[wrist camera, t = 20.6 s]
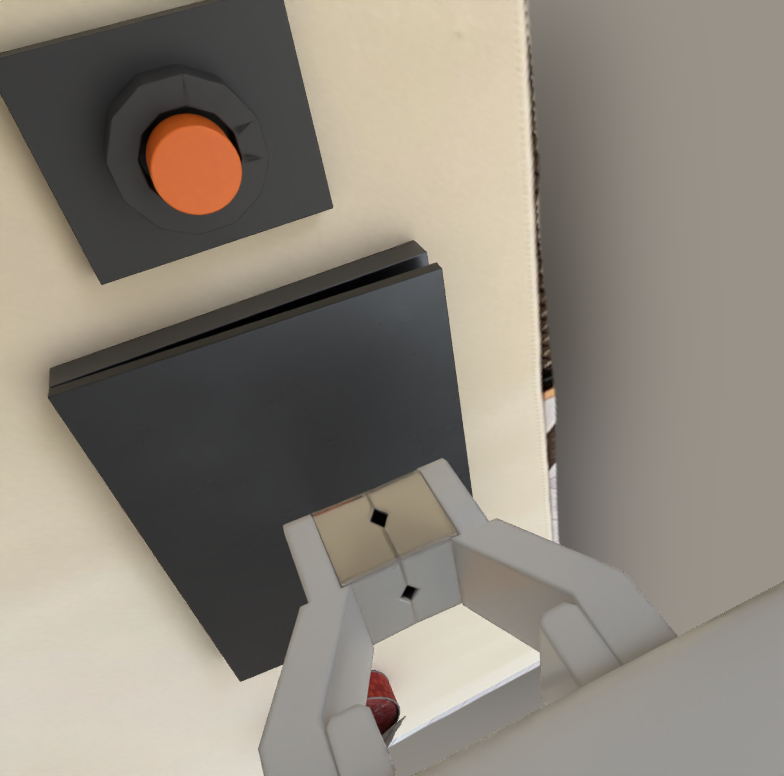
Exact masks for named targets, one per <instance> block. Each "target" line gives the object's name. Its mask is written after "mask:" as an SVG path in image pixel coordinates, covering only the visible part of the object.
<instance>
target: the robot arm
mask: <svg viewBox="0 0 784 776" xmlns="http://www.w3.org/2000/svg"><path fill="white" fill-rule="evenodd" d="M312 516H313V518H312ZM312 516H311V514H309V515H307V516H304V517H302V518H299V519H297V520H294V521H292V522H289V523H287V524H284V525H283V528H284V534H285V537H286V540H287V542H288V545H289V548H290V551H291V554H292V557H293V560H294V563H295V566H296V568H297V571H298V574H299V577H300V580H301V583H302V586H303V589H304V592H305V594H306V597H307V600H308V603H307V604H305V605H303V606H301V607H300V610H299V613H298V616H297V620H296V623H295V626H294V630H293V633H292V636H291V640H290V643H289V647H288V650H287V653H286V657H285V660H284V663H283V667H282V670H281V674H280V677H279V680H278V684H277V687H276V690H275V694H274V697H273V701H272V704H271V707H270V711H269V714H268V717H267V721H266V724H265V728H264V731H263V734H262V738H261V741H260V744H259V748H258V751H259V755H260V760H261V764H262V769H263V773H264V776H398V774H397V772H396V769H395V767H394V764H393V762H392V760H391V757H390V755H389V753H388V750H387V748H386V745H385V743H384V740H383V738H382V736H381V733H380V731H379V728H378V726H377V724H376V721H375V719H374V716H373V714H372V712H371V709H370V707H367V706H366V701H367V694H368V687H369V680H370V673H371V666H372V659H373V652H374V647H373V645H374V644H376V643H378V642H380V641H382V640H384V639H386V638H388V637H390V636H392V635H394V634H396V633H398V632H400V631H402V630H404V629H406V628H408V627H410V626H412V625H414V624H416V623H417V622H420V621H422V620H425V619H427V618H429V617H431V616H434V615H436V614H438V613H440V612H443V611H445V610H447V609H450V608H452V607H454V606H456V605H459V604H461V603H463V605H464V606H465V607H467V608H469V609H470V610H472V611H474V612H475V613H477V614H478V615H480V616H482V617H483V618H485V619H486V620H488V621H490V622H491V623H493V624H495V625H496V626H498V627H499V628H501V629H503V630H504V631H506V632H508V633H509V634H511V635H512V636H514V637H516V638H517V639H519V640H520V641H522V642H524V643H525V644H527V645H529V646H530V647H532V648H533V649H535V650H537V651H538V652H540V673H541V698H542V700H543V702H544V703H545V705H546V706H544V707H542V708H540V709H538V710H537V711H535V712H533V713H531V714H529V715H527V716H525V717H523V718H521V719H519V720H517V721H515V722H514V723H511V724H510V725H508V726H506V727H504V728H502V729H500V730H498V731H496V732H494V733H492V734H490V735H488V736H487V737H485V738H483V739H481V740H479V741H477V742H475V743H473V744H471V745H469V746H467V747H465V748H464V749H462V750H460V751H458V752H456V753H454V754H452V755H450V756H448V757H446V758H445V759H442V760H441V761H439V762H437V763H435V764H433V765H431V766H429V767H427V768H425V769H423V770H421V771H420V772H418V773H416V774H414V775H412V776H784V581H783V582H781V583H780V584H778V585H776V586H774V587H772V588H770V589H768V590H766V591H764V592H762V593H760V594H759V595H757V596H755V597H753V598H751V599H749V600H747V601H745V602H743V603H741V604H739V605H737V606H736V607H734V608H732V609H730V610H728V611H726V612H724V613H722V614H720V615H718V616H716V617H715V618H713V619H711V620H709V621H707V622H705V623H703V624H701V625H699V626H697V627H696V628H693V629H692V630H690V631H688V632H686V633H684V634H682V635H680V636H677V634H676V633H675V632H674V631H673V629H672V628H671V627H670V626H669V625H668V624H667V622H666V621H665V620H664V619H663V618H662V616H661V615H660V614H659V613H658V612H657V610H656V609H655V608H654V607H653V606H652V605H651V603H650V602H649V601H648V600H647V599H646V597H645V596H644V595H643V594H642V593H641V591H639V589H638V588H637V587H636V586H635V584H634V583H633V582H632V581H631V580H630V578H629V577H628V576H627V575H626V574H625V573H624V571H621V570H619V569H617V568H614V567H612V566H610V565H607V564H605V563H602V562H600V561H598V560H595V559H593V558H591V557H588V556H586V555H583V554H581V553H578V552H576V551H574V550H571V549H569V548H567V547H564V546H562V545H559V544H557V543H555V542H552V541H550V540H548V539H545V538H543V537H540V536H538V535H536V534H533V533H531V532H528V531H526V530H524V529H521V528H519V527H516V526H514V525H512V524H509V523H507V522H504V521H502V520H500V519H497V518H496V519H494V520H491V521H488V519H487V518H486V516H485V515H484V513H483V512H482V511H481V509H480V508H479V506H478V505H477V503H476V502H475V500H474V499H473V498H472V496H471V495H470V493H469V492H468V490H467V489H466V488H465V486H464V485H463V483H462V482H461V480H460V479H459V478H458V476H457V475H456V473H455V472H454V470H453V469H452V467H451V466H450V465H449V463H448V462H447V461H446V460H445V459H443V458H441V459H439V460H436V461H434V462H432V463H429V464H427V465H425V466H422V467H420V468H418V469H417V470H415V469H414V470H412V471H410V472H408V473H405V474H403V475H401V476H398V477H396V478H394V479H392V480H389V481H387V482H385V483H382V484H380V485H378V486H376V487H373V488H371V489H369V490H366V491H364V493H361V494H359V495H356V496H354V497H351V498H349V499H346V500H344V501H341V502H338V503H336V504H333V505H331V506H328V507H326V508H323V509H321V510H318V511H316V512H313V513H312ZM313 519H314V520H313ZM315 524H316V525H315Z"/></svg>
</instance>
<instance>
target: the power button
mask: <svg viewBox="0 0 784 776" xmlns="http://www.w3.org/2000/svg"><path fill="white" fill-rule="evenodd" d="M146 162H147V166H148V169H149V172H150V176H151V179H152V182H153V185H154V187H155V189H156V191H157V192H158V194H159V195H160V197H161V198H162V199H163V200H164V201H165V202H166V203H167V204H168V205H170V206H171V207H173V208H175V209H176V210H178V211H181V212H183V213H187V214H192V215H205V214H210V213H214V212H216V211H218V210H220V209H222V208H224V207H225V206H226V205H228V204H229V203H230V202H231V201H232V199H233V198H234V197H235V195H236V194H237V192H238V190H239V187H240V184H241V179H242V165H241V161H240V157H239V155H238V153H237V151H236V149H235V147H234V146H233V144H232V143H231V142H230V140H229V139H228V137H227V136H226V135H225V133H224V132H223V130H222V129H221V128H220V127H219V126H218V125H216V124H215V123H214V122H213V121H211V120H209V119H208V118H205V117H203V116H200V115H197V114H191V113H182V114H176V115H173V116H170V117H168V118H166V119H164V120H163V121H161V122H160V123H159V124H158V125H157V126H156V127H155V128H154V129H153V131H152V132H151V134H150V136H149V138H148V141H147V145H146Z"/></svg>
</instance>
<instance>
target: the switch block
mask: <svg viewBox="0 0 784 776" xmlns="http://www.w3.org/2000/svg"><path fill="white" fill-rule="evenodd" d="M0 94H1V96H2V98H3V100H4V102H5V103H6V105H7V107H8V109H9V111H10V113H11V115H12V117H13V119H14V121H15V122H16V124H17V126H18V128H19V130H20V132H21V134H22V136H23V138H24V139H25V141H26V143H27V145H28V147H29V149H30V151H31V153H32V155H33V157H34V158H35V160H36V162H37V164H38V166H39V168H40V170H41V172H42V174H43V175H44V177H45V179H46V181H47V183H48V185H49V187H50V189H51V191H52V192H53V194H54V196H55V198H56V200H57V202H58V204H59V206H60V208H61V210H62V211H63V213H64V215H65V217H66V219H67V221H68V223H69V225H70V227H71V228H72V230H73V232H74V234H75V236H76V238H77V240H78V242H79V244H80V246H81V247H82V249H83V251H84V253H85V255H86V257H87V259H88V261H89V263H90V264H91V266H92V268H93V270H94V272H95V274H96V276H97V278H98V280H99V281H100V283H101V285H103V284H106V283H109V282H112V281H115V280H118V279H121V278H124V277H127V276H130V275H133V274H136V273H139V272H142V271H145V270H148V269H151V268H154V267H157V266H160V265H163V264H166V263H169V262H172V261H175V260H178V259H181V258H184V257H187V256H190V255H193V254H196V253H199V252H202V251H205V250H208V249H211V248H214V247H217V246H220V245H223V244H226V243H229V242H232V241H235V240H238V239H241V238H244V237H247V236H250V235H254V234H257V233H260V232H263V231H266V230H269V229H272V228H275V227H278V226H281V225H284V224H287V223H290V222H293V221H296V220H299V219H302V218H305V217H308V216H311V215H314V214H317V213H320V212H323V211H326V210H329V209H332V208H333V204H332V200H331V196H330V192H329V188H328V184H327V179H326V175H325V171H324V167H323V163H322V159H321V154H320V150H319V146H318V142H317V138H316V134H315V130H314V125H313V121H312V117H311V113H310V109H309V105H308V100H307V96H306V92H305V88H304V84H303V80H302V75H301V71H300V67H299V63H298V59H297V55H296V51H295V46H294V42H293V38H292V34H291V30H290V26H289V21H288V17H287V13H286V9H285V5H284V1H283V0H205V1H201V2H198V3H194V4H190V5H186V6H182V7H178V8H174V9H170V10H166V11H162V12H159V13H155V14H151V15H147V16H143V17H139V18H135V19H131V20H127V21H124V22H120V23H116V24H112V25H108V26H104V27H100V28H96V29H92V30H88V31H85V32H81V33H77V34H73V35H69V36H65V37H61V38H57V39H53V40H50V41H46V42H42V43H38V44H34V45H30V46H26V47H22V48H18V49H14V50H11V51H7V52H3V53H0ZM182 113H191V114H197V115H200V116H203V117H205V118H208V119H209V120H211V121H213V122H214V123H215V124H216V125H218V126H219V127H220V128H221V129H222V130H223V132H224V133H225V135H226V136H227V137H228V139H229V140H230V142H231V143H232V144H233V146H234V147H235V149H236V151H237V153H238V155H239V157H240V161H241V165H242V179H241V184H240V187H239V190H238V192H237V194H236V195H235V197H234V198H233V199H232V201H231V202H230V203H229V204H228V205H226V206H225V207H224V208H222V209H220V210H218V211H216V212H214V213H210V214H205V215H192V214H187V213H183V212H181V211H178V210H176V209H175V208H173V207H171V206H170V205H168V204H167V203H166V202H165V201H164V200H163V199H162V198H161V197H160V195H159V194H158V192H157V191H156V189H155V187H154V185H153V182H152V179H151V176H150V172H149V169H148V166H147V162H146V145H147V141H148V138H149V136H150V134H151V132H152V131H153V129H154V128H155V127H156V126H157V125H158V124H159V123H160V122H161V121H163V120H164V119H166V118H168V117H170V116H173V115H176V114H182Z"/></svg>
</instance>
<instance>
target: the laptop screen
mask: <svg viewBox="0 0 784 776" xmlns="http://www.w3.org/2000/svg"><path fill="white" fill-rule="evenodd" d="M48 399H49V400H50V402H51V403H52V405H53V406H54V408H55V409H56V411H57V412H58V413H59V415H60V416H61V418H62V419H63V421H64V422H65V424H66V425H67V427H68V428H69V430H70V431H71V433H72V434H73V436H74V437H75V439H76V440H77V442H78V443H79V444H80V446H81V447H82V449H83V450H84V452H85V453H86V455H87V456H88V458H89V459H90V461H91V462H92V464H93V465H94V467H95V468H96V470H97V471H98V473H99V474H100V475H101V477H102V478H103V480H104V481H105V483H106V484H107V486H108V487H109V489H110V490H111V492H112V493H113V495H114V496H115V498H116V499H117V501H118V502H119V504H120V505H121V506H122V508H123V509H124V511H125V512H126V514H127V515H128V517H129V518H130V520H131V521H132V523H133V524H134V526H135V527H136V529H137V530H138V532H139V533H140V535H141V536H142V538H143V539H144V540H145V542H146V543H147V545H148V546H149V548H150V549H151V551H152V552H153V554H154V555H155V557H156V558H157V560H158V561H159V563H160V564H161V566H162V567H163V569H164V570H165V571H166V573H167V574H168V576H169V577H170V579H171V580H172V582H173V583H174V585H175V586H176V588H177V589H178V591H179V592H180V594H181V595H182V597H183V598H184V600H185V601H186V602H187V604H188V605H189V607H190V608H191V610H192V611H193V613H194V614H195V616H196V617H197V619H198V620H199V622H200V623H201V625H202V626H203V628H204V629H205V631H206V632H207V634H208V635H209V636H210V638H211V639H212V641H213V642H214V644H215V645H216V647H217V648H218V650H219V651H220V653H221V654H222V656H223V657H224V659H225V660H226V662H227V663H228V665H229V666H230V667H231V669H232V670H233V672H234V673H235V675H236V676H237V678H238V679H239V681H240V682H241V681H244V680H246V679H249V678H251V677H254V676H256V675H258V674H261V673H263V672H266V671H268V670H271V669H273V668H276V667H278V666H280V665H283V663H284V660H285V657H286V653H287V650H288V647H289V643H290V640H291V636H292V633H293V630H294V626H295V623H296V620H297V616H298V613H299V610H300V607H301V606H303V605H305V604H307V603H308V600H307V597H306V594H305V592H304V589H303V586H302V583H301V580H300V577H299V574H298V571H297V568H296V566H295V563H294V560H293V557H292V554H291V551H290V548H289V545H288V542H287V540H286V537H285V534H284V528H283V525H284V524H287V523H289V522H292V521H294V520H297V519H299V518H302V517H304V516H307V515H309V514H311V516H312V513H313V512H316V511H318V510H321V509H323V508H326V507H328V506H331V505H333V504H336V503H338V502H341V501H344V500H346V499H349V498H351V497H354V496H356V495H359V494H361V493H364V491H366V490H369V489H371V488H373V487H376V486H378V485H380V484H382V483H385V482H387V481H389V480H392V479H394V478H396V477H398V476H401V475H403V474H405V473H408V472H410V471H412V470H414V469H415V470H417V469H418V468H420V467H422V466H425V465H427V464H429V463H432V462H434V461H436V460H439V459H441V458H443V459H445V460H446V461H447V462H448V463H449V465H450V466H451V467H452V469H453V470H454V472H455V473H456V475H457V476H458V478H459V479H460V480H461V482H462V483H463V485H464V486H465V488H466V489H467V490H468V492H469V493H470V495H471V496H472V488H471V481H470V473H469V466H468V458H467V451H466V444H465V436H464V429H463V421H462V414H461V407H460V399H459V392H458V384H457V377H456V369H455V362H454V355H453V347H452V340H451V332H450V325H449V317H448V310H447V303H446V295H445V288H444V280H443V273H442V268H441V267H440V266H439V265H438V263H433V264H430V265H427V266H424V267H421V268H418V269H415V270H412V271H409V272H406V273H403V274H399V275H396V276H393V277H390V278H387V279H384V280H381V281H378V282H375V283H372V284H369V285H366V286H363V287H360V288H357V289H353V290H350V291H347V292H344V293H341V294H338V295H335V296H332V297H329V298H326V299H323V300H320V301H317V302H314V303H311V304H307V305H304V306H301V307H298V308H295V309H292V310H289V311H286V312H283V313H280V314H277V315H274V316H271V317H268V318H265V319H261V320H258V321H255V322H252V323H249V324H246V325H243V326H240V327H237V328H234V329H231V330H228V331H225V332H222V333H219V334H215V335H212V336H209V337H206V338H203V339H200V340H197V341H194V342H191V343H188V344H185V345H182V346H179V347H176V348H173V349H169V350H166V351H163V352H160V353H157V354H154V355H151V356H148V357H145V358H142V359H139V360H136V361H133V362H130V363H127V364H123V365H120V366H117V367H114V368H111V369H108V370H105V371H102V372H99V373H96V374H93V375H90V376H87V377H84V378H81V379H77V380H74V381H71V382H68V383H65V384H62V385H59V386H56V387H53V388H50V389H49V393H48ZM472 498H473V496H472ZM312 518H313V516H312ZM313 520H314V519H313ZM315 525H316V524H315Z"/></svg>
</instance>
